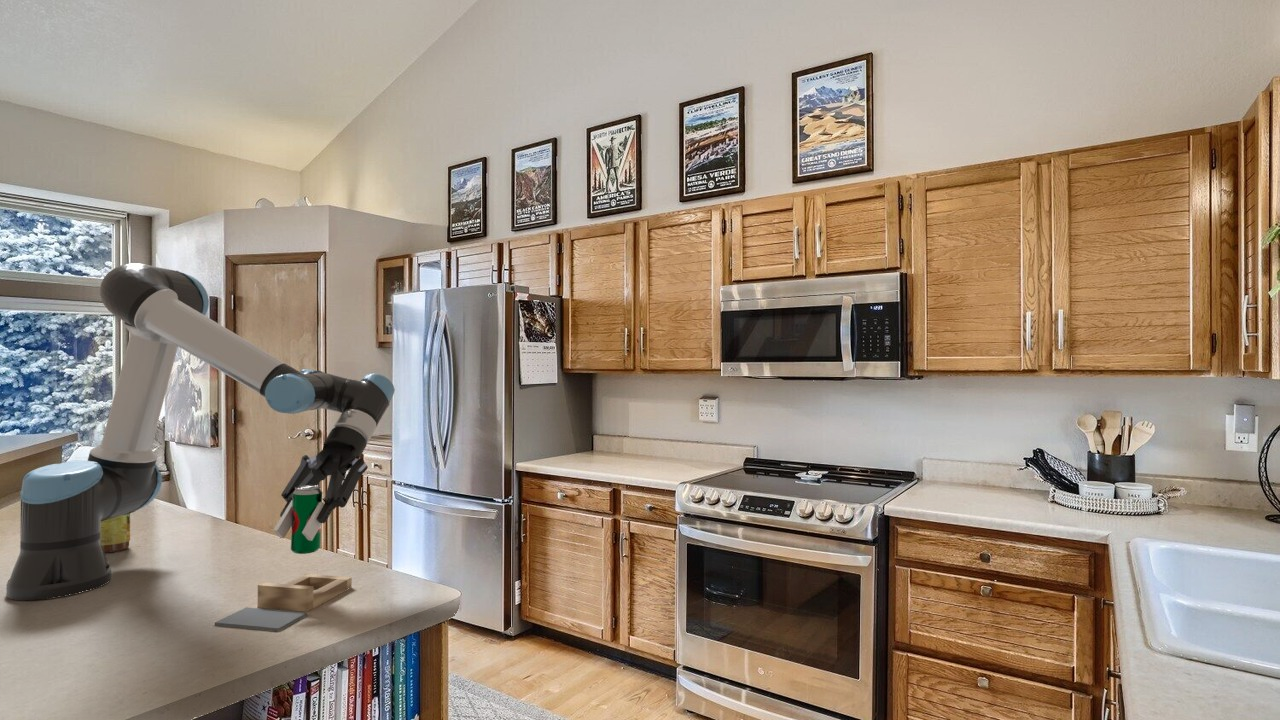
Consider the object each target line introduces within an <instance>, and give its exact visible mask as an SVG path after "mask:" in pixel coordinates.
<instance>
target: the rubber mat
mask: <svg viewBox="0 0 1280 720" xmlns="http://www.w3.org/2000/svg"><path fill="white" fill-rule="evenodd" d="M307 616H308V612H304V611H292V610H281V609H269V608H257V607H248V606H246V607H243V608H242V609H239V610H238V611H236V612H233V613H231V614H229V615H227V616H225V617H222V618H221V619H219V620H217V621H215V622H214V626H217V627H228V628H229V627H230V628H240V629H248V630H249V629H250V630H260V631H268V632H269V631H273V632H280V631H281V630H284V629H286V628H288V627H290V626H291V625H293V624H295V623H296V622H298V621H300V620H301V619H304V618H305V617H307Z"/></svg>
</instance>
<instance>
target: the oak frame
mask: <svg viewBox="0 0 1280 720" xmlns="http://www.w3.org/2000/svg"><path fill="white" fill-rule="evenodd" d="M352 579H353V578H352V577H351V576H340V575H325V574H315V573H313V574H311V573H304V574H303V575H302V574H301V576H298V577H296V578H294V579H292V580H289V581H287V582H285V583H274V582H262V583H260V584H258V585H257V602H256V603H257V607H256V608H260V609H272V610H283V611H295V612H306V613H308V612H309V611H311V610H314V609H315V608H317V607H319V606H321V605H323V604H324V603H326V602H328V601H330V600H331V598H332V599H333V598H335V597H337V596H339V595H340V593H341V594H342V593H344V592H346V591H348V590H349V589H348V588H350V589H352V585H353V584H352V581H353V580H352ZM315 587H318V588H317V589H316V590H314V589H315ZM347 589H348V590H347ZM345 590H346V591H345ZM343 591H344V592H343ZM338 594H339V595H338ZM322 603H323V604H322Z"/></svg>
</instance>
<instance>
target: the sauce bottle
mask: <svg viewBox="0 0 1280 720" xmlns="http://www.w3.org/2000/svg"><path fill="white" fill-rule="evenodd" d="M130 540H131V513H130V514H126V515H120V516H117V517H114V518H111V519H108V520H104V521H101V529H100V542H101V546H102V548H103V550H104V553H105V554H107V553H109V552H110V553H115V552H120V551H124V550H126V549H128V548H129V547H130Z"/></svg>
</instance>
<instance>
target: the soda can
mask: <svg viewBox="0 0 1280 720" xmlns="http://www.w3.org/2000/svg"><path fill="white" fill-rule="evenodd" d="M323 493H324V491H323V490H322V489H321V486H320V485H304V486H298V487H295V491H294V492H293V496H292V524H291V527H290V550H291V552H292V553H294V554H298V555H306V554H308V555H309V554H312V553H316V552H318V550H319V549H320V548H321V546H322V545H321V543H322V525H321V526H320V527H319V529H318V531H317V533H316V535H315V537H314V538H313V540H312V541H308V539H307V538H306V537H305V536H304V535H303V533H302V532H303V530H304V528H305V526H306V524H307V523H308V521H309V519H310V517H311V516H312V514H313V512H314V510H315V509H316V507H317V505H318V503H319V502H323Z"/></svg>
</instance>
